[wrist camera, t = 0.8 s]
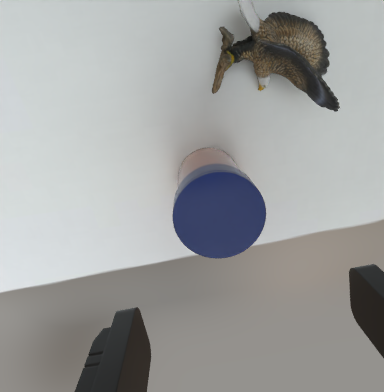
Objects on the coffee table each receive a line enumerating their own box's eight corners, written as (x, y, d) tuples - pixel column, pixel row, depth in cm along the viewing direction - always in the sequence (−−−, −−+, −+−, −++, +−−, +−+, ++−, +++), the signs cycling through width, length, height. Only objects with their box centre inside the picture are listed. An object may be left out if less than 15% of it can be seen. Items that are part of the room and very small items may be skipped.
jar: (232, 142, 27) (255, 164, 19) (242, 199, 29) (266, 244, 20) (172, 154, 27) (167, 182, 19) (185, 210, 29) (185, 259, 20)
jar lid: (252, 155, 20) (261, 162, 18) (263, 233, 22) (272, 249, 20) (165, 172, 20) (163, 182, 18) (183, 249, 22) (183, 265, 20)
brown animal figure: (212, 121, 25) (326, 133, 24) (209, 62, 18) (368, 74, 17) (224, 44, 27) (331, 51, 26) (226, -36, 20) (370, -31, 19)
